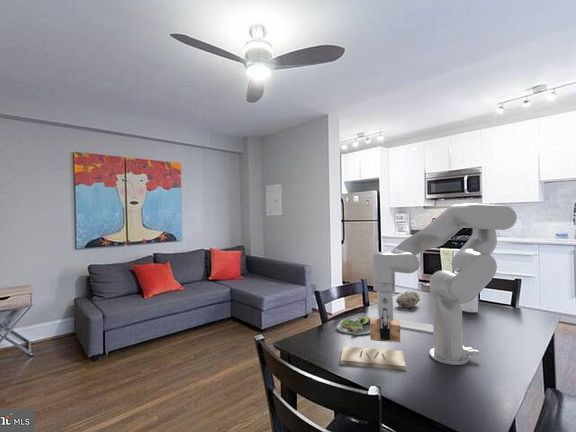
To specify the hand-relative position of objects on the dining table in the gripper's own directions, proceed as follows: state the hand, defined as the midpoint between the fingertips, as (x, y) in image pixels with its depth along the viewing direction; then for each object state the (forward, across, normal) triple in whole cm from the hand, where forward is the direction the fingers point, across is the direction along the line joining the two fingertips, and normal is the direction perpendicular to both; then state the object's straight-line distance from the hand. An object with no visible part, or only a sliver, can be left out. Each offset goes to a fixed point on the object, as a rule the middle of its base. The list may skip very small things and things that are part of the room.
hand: (384, 335), depth 112 cm
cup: (+8, +65, -46) cm, 80 cm away
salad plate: (+10, +31, +11) cm, 35 cm away
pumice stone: (+9, +70, -17) cm, 73 cm away
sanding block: (+1, 0, 0) cm, 1 cm away
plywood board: (+9, 0, +4) cm, 10 cm away
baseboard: (+10, +41, -10) cm, 43 cm away
